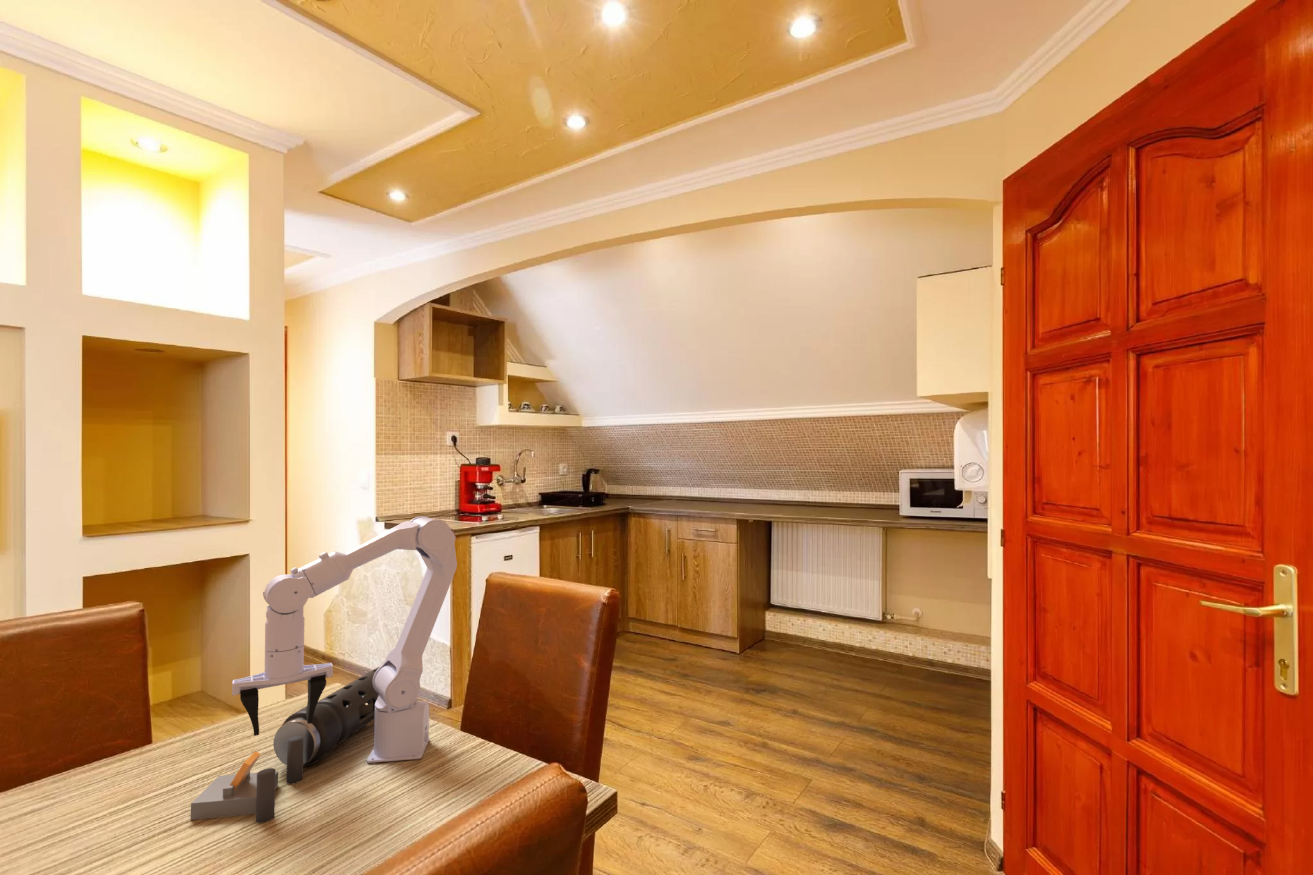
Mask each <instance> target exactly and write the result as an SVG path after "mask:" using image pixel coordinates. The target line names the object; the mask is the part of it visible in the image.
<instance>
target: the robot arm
mask: <svg viewBox="0 0 1313 875" xmlns="http://www.w3.org/2000/svg"><path fill="white" fill-rule="evenodd" d="M455 543H456V535H455V534H454V532H453V530H452V529H451V527H450V526H449V524H448V523H447V522H445V521H443V520H441V519H433V518H430V517H429V516H425V515H420V516H419V515H418V516H416V517H414V518H412V519H411V520H407V521H406V520H405V521H403V522H401V523H399V524H397V525H395V526H394V527H392V528H389V529H388V530H385V531H384V532H381V533H380V534H378V535H377V536H374V537H373V538H371V539H369V540H367V541H365V542H364V543H362V544H360V545H358V546H356V547H354V548H353V549H351V550H349V551H347V552H345V553H341V552H339V551H331V552H329V553H328V552H327V551H324V552H322V553H319V554H318V557H319V558H316V560H313V561H311V562H309V563H307V564H305V565H303V566H301V567H296V566H295V567H293V568H291V569H290V570H289V571H290V574H289V573H287V574H284V573H283V574H279V575H277V576H275V577H273V578H271V579H270V580H269V582H268V583H267V584H266V586H265V587H264V591H263V592H262V596H263V599H264V601H265V602H266V604H268V605H267V606H266V611H265V617H266V621H265V624H264V626H265V627H264V672H260V673H257V674H253V675H250V676H246V677H242V678H238V679H233V680H232V681H231V684H232V685H231V688H232V689H231V691H232V692H231V695H232V696H237V695H238V696H240V697H239V699H240V702H241V703H242V706H243V707H244V709H245V710H246V712H247V714H248V716H249V719H250V721H251V724H252V729H253V736H259V735H260V723H259V721H260V720H259V690H261V689H267V688H273V687H278V686H282V685H288V684H294V683H299V682H304V681H307V704H306V706H307V723H308V724H310V723H312V721H313V715H314V712H315V708H316V705H317V703H318V701H320V698H321V696H322V694H323V692H324V690H325V688H326V686H327V678H332V677H333V676H334V665H333V663H332V662H327V663H318V664H317V663H316V664H304V663H305V662H304V661H305V617H304V606H305V605H306V603H307V602H308V601H309V599H313V598H315V597H318V596H319V595H321V594H323V593H326V592H327V591H329V590H330V589H333V588H334V587H337V586H338V585H340V584H343V583H344V582H347V581H349V579H350V577H351V575H352V572H353V571H354V570H355V569H357V568H358V567H361V566H364V565H366V564H367V563H369V562H373V561H374V560H377V559H378V558H380V557H383V556H385V555H387V554H390V553H392V552H393V551H396V550H406V551H416V552H418V554H419V555H420V557H421V559H422V560H423V563H424V564H425V566H426V571H425V573H424V576H423V578H422V580H421V582H420V586H419V588H418V590H417V592H416V595H415V597H414V600H413V601H412V602H413V603H412V605H411V608H410V610H409V612H408V614H407V617H406V619H405V620H406V621H405V622H404V624H403V627H402V630H401V632H400V634H399V637H398V640H397V642H396V644H395V646H394V648H393V649H391V651H390V652H389V653H388V654H387V655H386V657H385V660H384V662H383V663H382V664H381V665H380V666H378V667H379V668H378V669H377V671H376V672H375V674H374V676H373V687H374V689H375V691H376V692H377V693H379V694H378V698H377V700H376V702H375V719H374V727H373V728H374V730H373V732H374V735H373V738H374V739H373V748H372V750H371V752H370V754H369V756H368V758H367V759H366V763H368V764H371V763H373V764H374V763H384V762H396V761H409V760H420V759H422V758H423V756H424V753H425V751H426V748H427V746H428V743H429V741H430V736H429V732H430V731H429V730H430V704H429V701H425V700H423V701H422V700H417V699H418V697H419V695H420V691H421V685H420V684H421V676H422V674H423V670H424V669H423V655H424V653H425V649H426V648H427V644H428V642H429V640H430V637H431V635H432V632H433V630H434V627H435V624H436V622H437V619H438V616H439V614H440V612H441V609H442V606H443V604H444V602H445V599H446V597H447V594H448V591H449V589H450V586H451V585H452V584H451V583H452V582H453V579H454V576H455V573H456V572H457V568H458V563H457V561H458V560H457V556H456V554H457V553H456V546H455Z"/></svg>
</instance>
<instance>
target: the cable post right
mask: <svg viewBox="0 0 1313 875" xmlns="http://www.w3.org/2000/svg"><path fill="white" fill-rule="evenodd" d="M303 741H304V737H303V736H294V737H291V738H289V739H288V740H287V765H286V778H285V779H286V780H285V781H286V784H287V785H293V784H297V783H300V782H302V780H303V779H304V778H303V776H304V766H303Z"/></svg>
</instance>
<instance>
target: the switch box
mask: <svg viewBox="0 0 1313 875" xmlns="http://www.w3.org/2000/svg"><path fill="white" fill-rule="evenodd" d="M257 773H258V772H251V771H250V772H249V774H248V775H247V777H246V778H245V780H244V781H243V782H242V783H241V784H240V785H239V786H238V787H237V788H236V789H235V790H234V785H231V786H230V784H231V782H232V781H233V779H234V778H235V776H236V774H227V775H218V776H217V777H216V778H215V779H214V780H213V781H212V782H211V783H209V785H208V786H207V787H206V788H205V789H204V790H203V791H202V792H201V793H200V794H199V795H198V796H196V798H195V799H194V800H193V801H192V802H190V821H194V820H195V821H196V820H204V819H205V820H206V819H207V820H208V819H215V818H225V817H228V818H229V817H236V816H238V817H239V816H247V815H256V790H257ZM278 787H279V770H275V790H276V789H277V788H278Z"/></svg>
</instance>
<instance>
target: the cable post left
mask: <svg viewBox="0 0 1313 875" xmlns="http://www.w3.org/2000/svg"><path fill="white" fill-rule="evenodd" d="M275 771H276V768H274V767H273V768H270V767H269V768H264V769H262V770H260V771H258V772H256V773H257V790H256V814H255V822H256V823H257V824H265V823H268V822H270V821H272V820H273V819H274V818H275V811H276V810H275V809H276V808H275V806H276V805H275V804H276V803H275V801H276V800H275V799H276V789H275Z"/></svg>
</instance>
